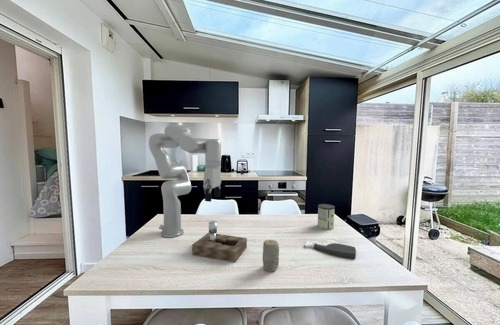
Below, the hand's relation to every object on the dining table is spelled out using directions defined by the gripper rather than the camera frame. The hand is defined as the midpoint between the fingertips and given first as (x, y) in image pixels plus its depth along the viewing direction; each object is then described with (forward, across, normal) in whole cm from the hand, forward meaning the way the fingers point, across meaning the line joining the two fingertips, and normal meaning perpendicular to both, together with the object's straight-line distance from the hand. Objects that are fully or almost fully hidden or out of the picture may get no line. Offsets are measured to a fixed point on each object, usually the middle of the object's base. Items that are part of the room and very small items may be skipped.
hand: (212, 198), depth 113 cm
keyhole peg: (+26, 0, 0) cm, 26 cm away
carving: (+26, +8, +32) cm, 42 cm away
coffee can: (+26, -54, +55) cm, 81 cm away
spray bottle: (+26, -19, +56) cm, 65 cm away
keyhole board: (+26, 0, +5) cm, 26 cm away
